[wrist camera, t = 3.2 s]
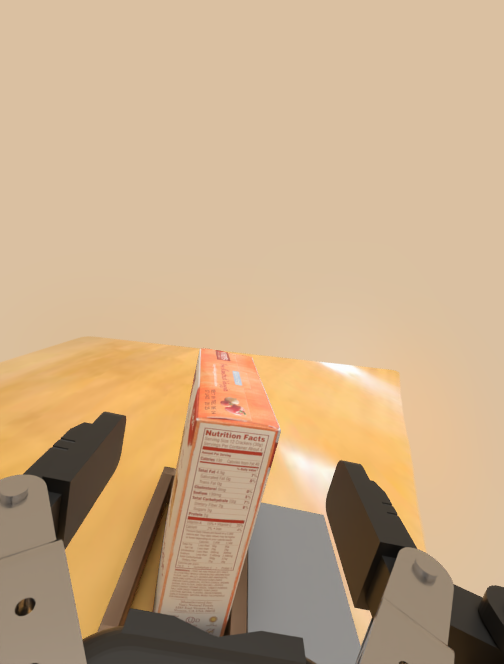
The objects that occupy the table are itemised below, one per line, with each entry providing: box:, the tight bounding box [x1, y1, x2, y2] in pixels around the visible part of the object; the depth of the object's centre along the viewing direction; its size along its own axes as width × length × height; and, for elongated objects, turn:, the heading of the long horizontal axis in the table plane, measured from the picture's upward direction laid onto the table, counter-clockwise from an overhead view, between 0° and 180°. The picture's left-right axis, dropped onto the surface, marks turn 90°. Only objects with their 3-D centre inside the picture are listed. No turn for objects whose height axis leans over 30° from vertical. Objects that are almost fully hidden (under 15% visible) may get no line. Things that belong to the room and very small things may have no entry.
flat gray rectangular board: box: [246, 503, 361, 664], centre depth 32 cm, size 10×20×1 cm, turn 0°
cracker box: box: [153, 349, 281, 637], centre depth 29 cm, size 14×6×21 cm, turn 8°
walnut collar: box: [98, 467, 247, 636], centre depth 31 cm, size 10×18×4 cm, turn 0°
